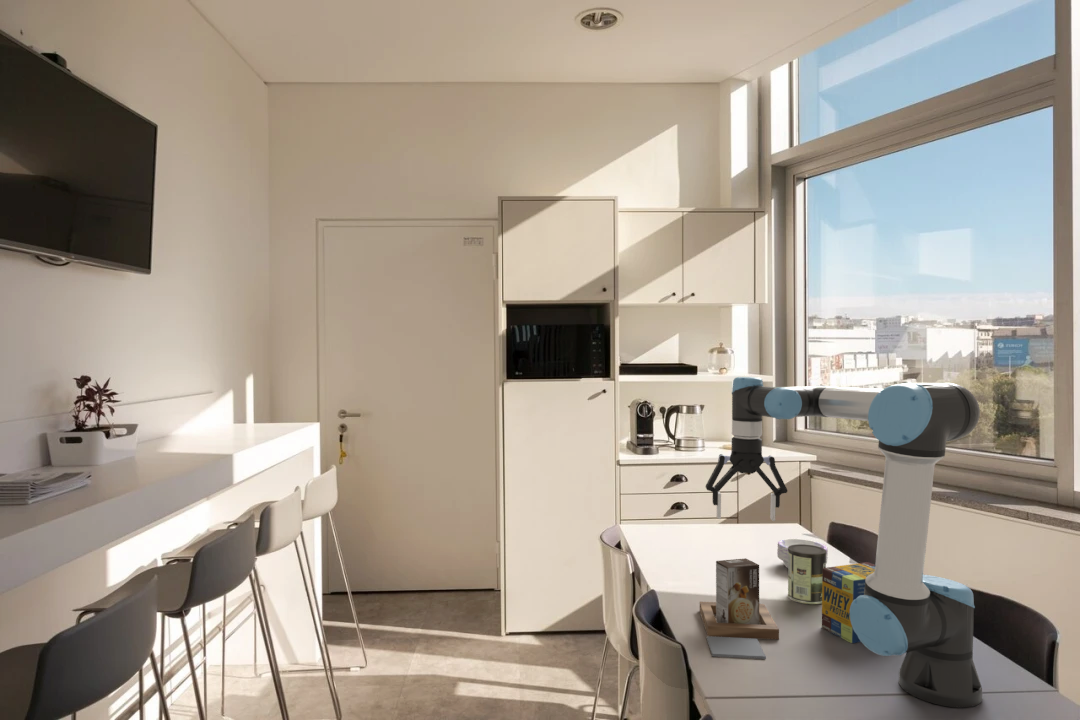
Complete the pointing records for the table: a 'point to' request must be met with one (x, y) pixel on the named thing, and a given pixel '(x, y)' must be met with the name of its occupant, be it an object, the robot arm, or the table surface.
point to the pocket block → (715, 629)
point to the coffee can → (805, 573)
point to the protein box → (842, 597)
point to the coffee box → (737, 591)
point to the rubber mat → (735, 647)
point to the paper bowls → (786, 543)
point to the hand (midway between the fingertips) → (745, 518)
